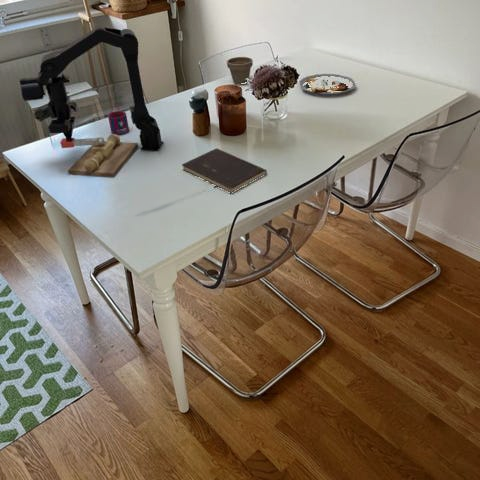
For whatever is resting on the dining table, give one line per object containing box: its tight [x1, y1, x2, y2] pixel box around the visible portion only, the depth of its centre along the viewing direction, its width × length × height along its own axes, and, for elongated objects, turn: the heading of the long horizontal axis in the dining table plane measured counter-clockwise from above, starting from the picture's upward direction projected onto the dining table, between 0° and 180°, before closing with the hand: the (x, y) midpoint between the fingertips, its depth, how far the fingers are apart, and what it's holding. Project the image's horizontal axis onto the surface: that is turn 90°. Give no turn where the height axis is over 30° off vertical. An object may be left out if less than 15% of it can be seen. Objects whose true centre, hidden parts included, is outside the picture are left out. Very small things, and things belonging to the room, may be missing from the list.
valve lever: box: [60, 136, 106, 149], centre depth 173 cm, size 14×3×2 cm, turn 92°
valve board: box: [67, 133, 139, 178], centre depth 175 cm, size 16×22×6 cm
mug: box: [107, 110, 130, 136], centre depth 195 cm, size 7×10×7 cm
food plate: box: [299, 73, 357, 95], centre depth 222 cm, size 25×23×4 cm
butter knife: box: [181, 186, 213, 200], centre depth 154 cm, size 1×27×3 cm
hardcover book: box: [181, 147, 268, 194], centre depth 166 cm, size 16×23×2 cm
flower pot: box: [226, 56, 254, 85], centre depth 229 cm, size 12×11×10 cm
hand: (69, 140), depth 175 cm, fingers closed
